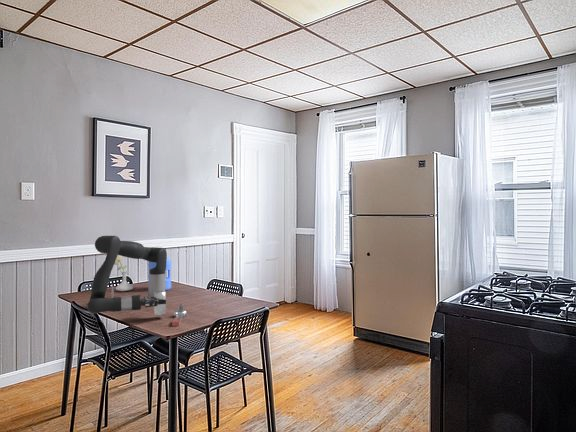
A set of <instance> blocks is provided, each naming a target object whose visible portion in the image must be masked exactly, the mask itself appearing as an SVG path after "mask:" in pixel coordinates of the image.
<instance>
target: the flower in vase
mask: <svg viewBox="0 0 576 432" xmlns="http://www.w3.org/2000/svg"><path fill="white" fill-rule="evenodd" d="M123 257H124V256H120V255H117V258H116V261H115V263H114V266H118V265H119V264H120V266H118V267H117V269H116V270H117V271H120V273H121V275H122V281H121V282H120V283H119V284H118V285H117V286H116V287H115V291H118V292H127V291H131V290H133V289H134V286H133V285H132V284H130V283H129V282H128V281H127V274H128V272H129V270H128V269H127V268H128V267H127V264H126V265H124V266H122V263H121V262H122V260H123ZM121 269H122V270H121ZM126 269H127V270H126Z"/></svg>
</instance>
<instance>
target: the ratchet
mask: <svg viewBox="0 0 576 432" xmlns="http://www.w3.org/2000/svg"><path fill="white" fill-rule="evenodd" d="M183 306H184V305H183V303H178V307H177V308H178V310H174V311H173V312H174V313H173V316H174V318H173V319H172V322H171V327H180V324H181V322H182V319H183V318H186V317H188V316H187V315H188V313H187V310H186V309H184V308H183Z"/></svg>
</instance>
